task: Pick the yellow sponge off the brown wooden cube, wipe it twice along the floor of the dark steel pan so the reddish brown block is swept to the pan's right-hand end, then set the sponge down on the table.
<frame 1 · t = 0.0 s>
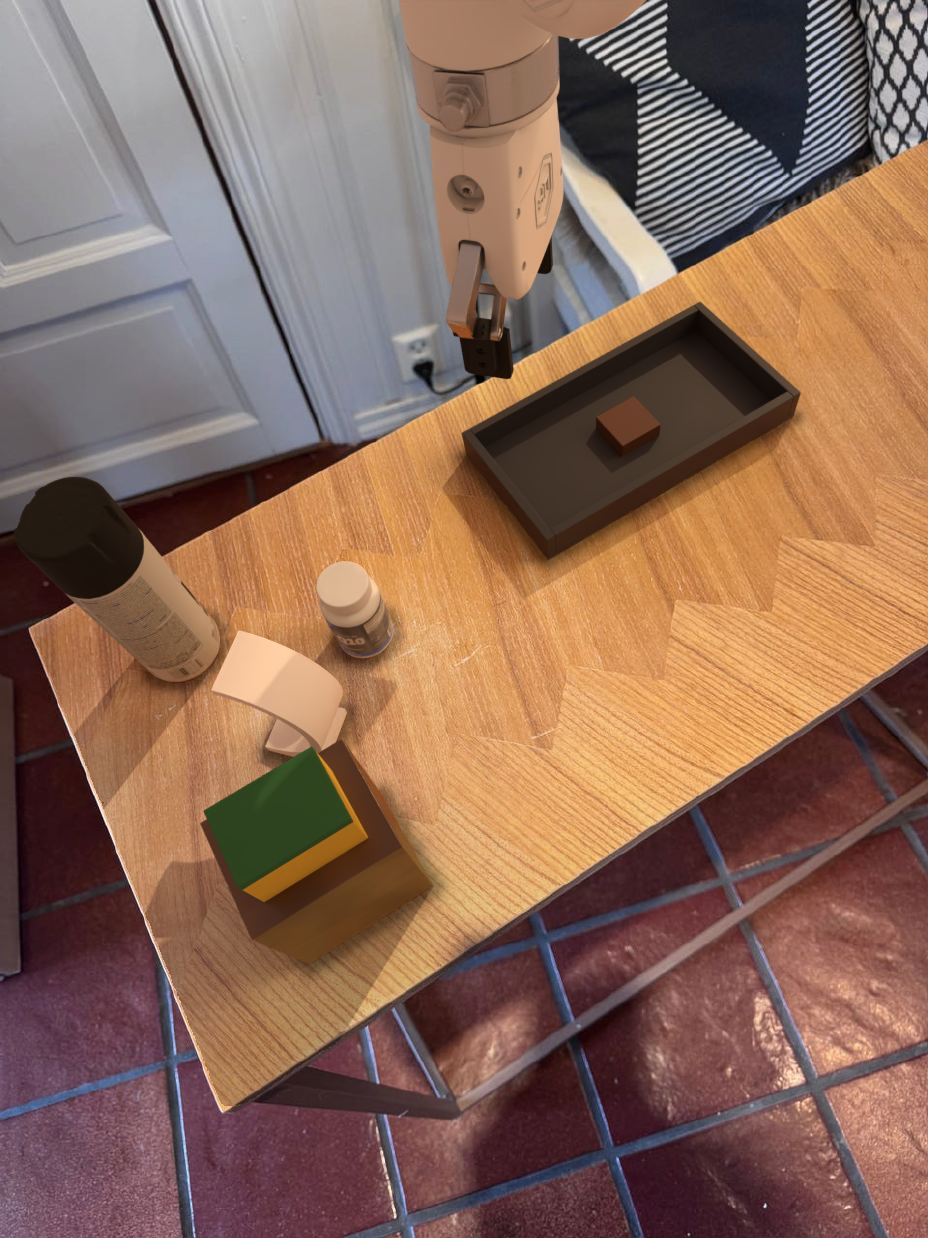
hand: (510, 319, 60), 20 cm above the table, tool pointing down, fingers open, 9 cm apart
cream curved piece: (314, 733, 69), on the table
brown wooden cube: (346, 875, 64), on the table
sponge: (298, 834, 53), point 12 cm above the table, touching brown wooden cube
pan: (627, 435, 79), on the table
reddish brown block: (627, 431, 78), point 1 cm above the table, touching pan
pill bottle: (366, 634, 73), on the table
spray can: (185, 650, 74), on the table
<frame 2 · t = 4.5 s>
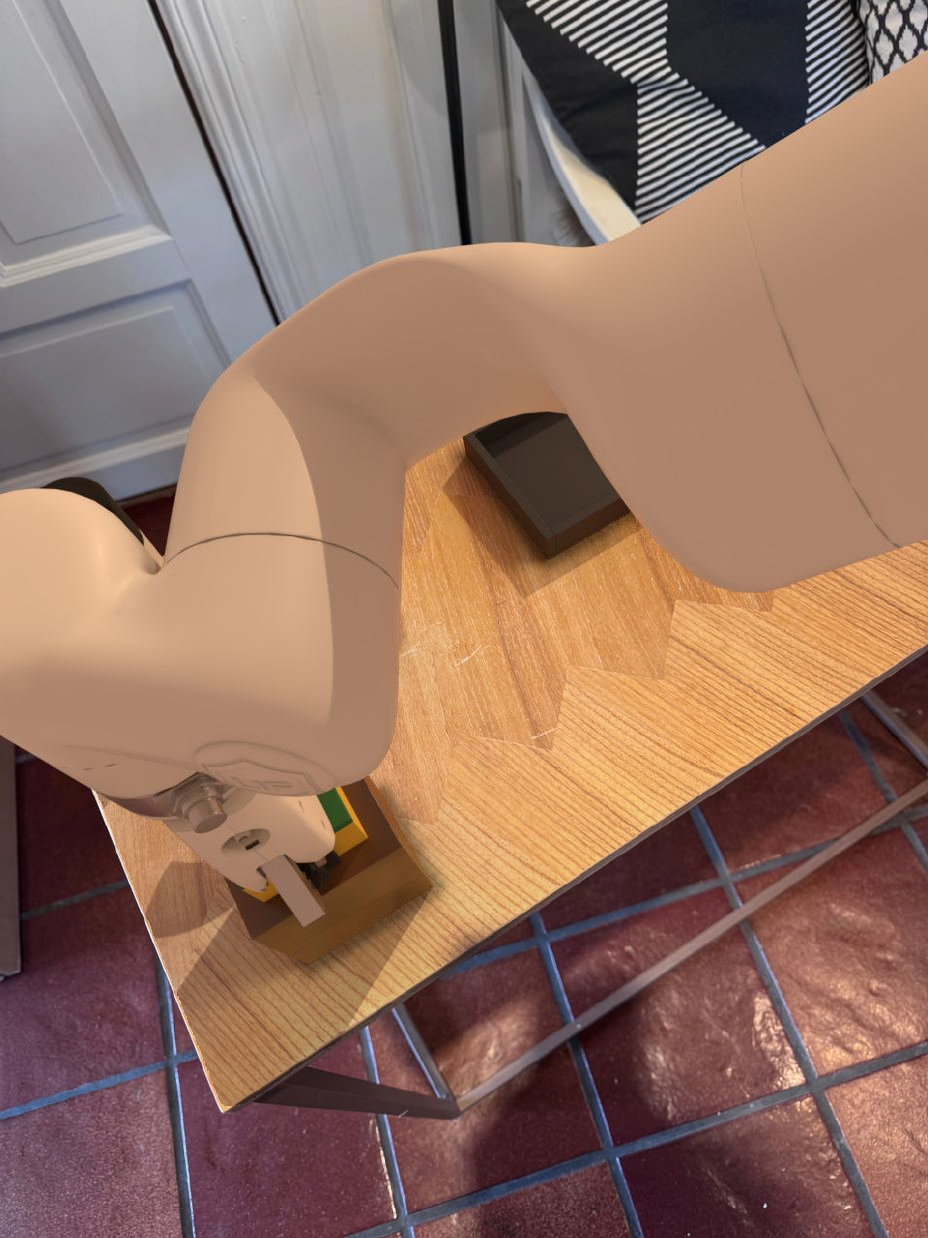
hand: (294, 831, 52), 13 cm above the table, tool pointing down, fingers closed on sponge, 5 cm apart
sponge: (298, 834, 53), point 12 cm above the table, touching gripper, brown wooden cube
everything else where it was.
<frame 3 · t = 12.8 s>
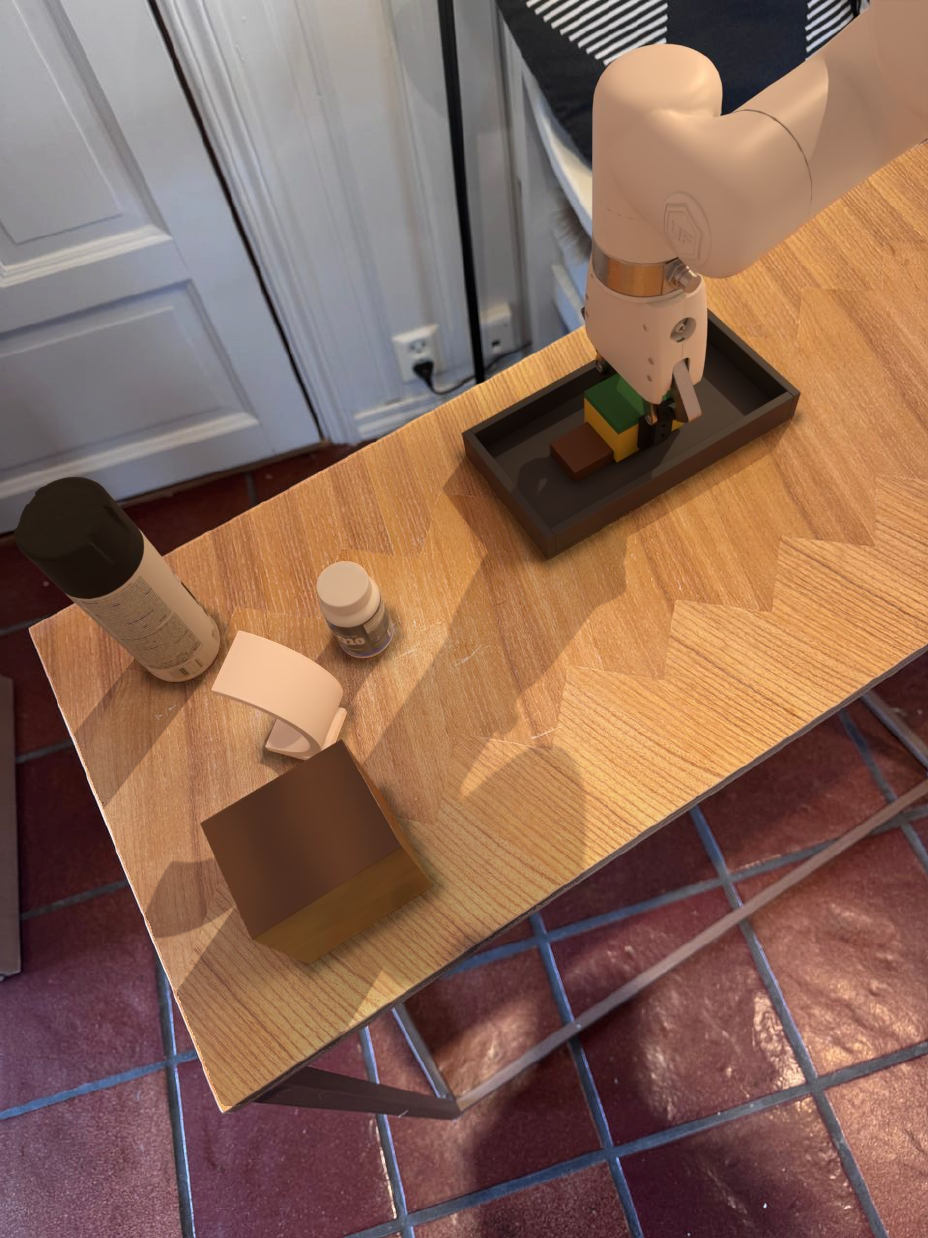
hand: (634, 419, 77), 2 cm above the table, tool pointing down, fingers closed on sponge, 5 cm apart
sponge: (633, 425, 78), point 1 cm above the table, touching gripper, reddish brown block
reddish brown block: (581, 457, 78), point 1 cm above the table, touching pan, sponge
everything else where it was.
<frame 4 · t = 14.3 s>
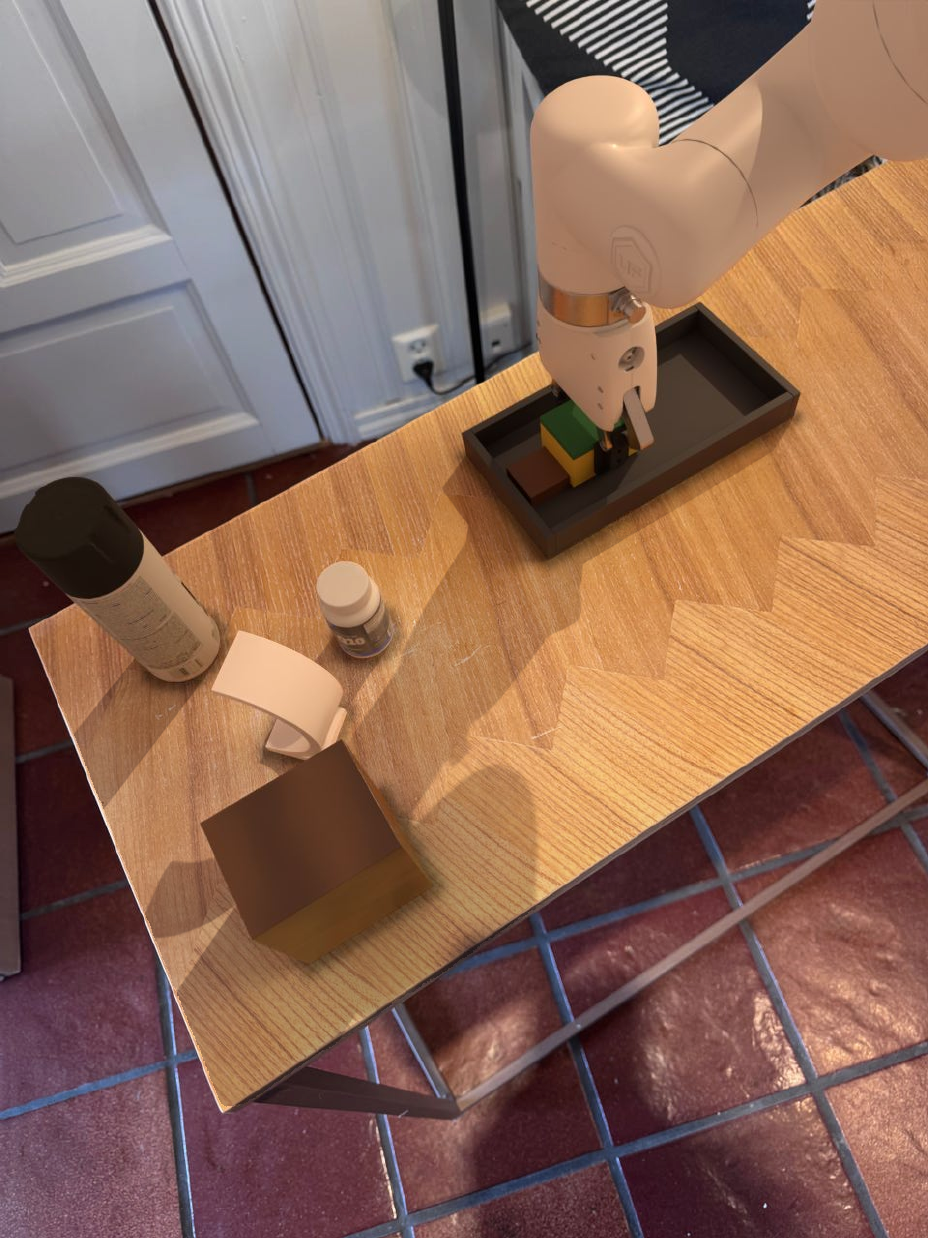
hand: (591, 443, 77), 2 cm above the table, tool pointing down, fingers closed on sponge, 5 cm apart
sponge: (591, 449, 77), point 1 cm above the table, touching gripper, reddish brown block
reddish brown block: (538, 481, 77), point 1 cm above the table, touching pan, sponge
everything else where it was.
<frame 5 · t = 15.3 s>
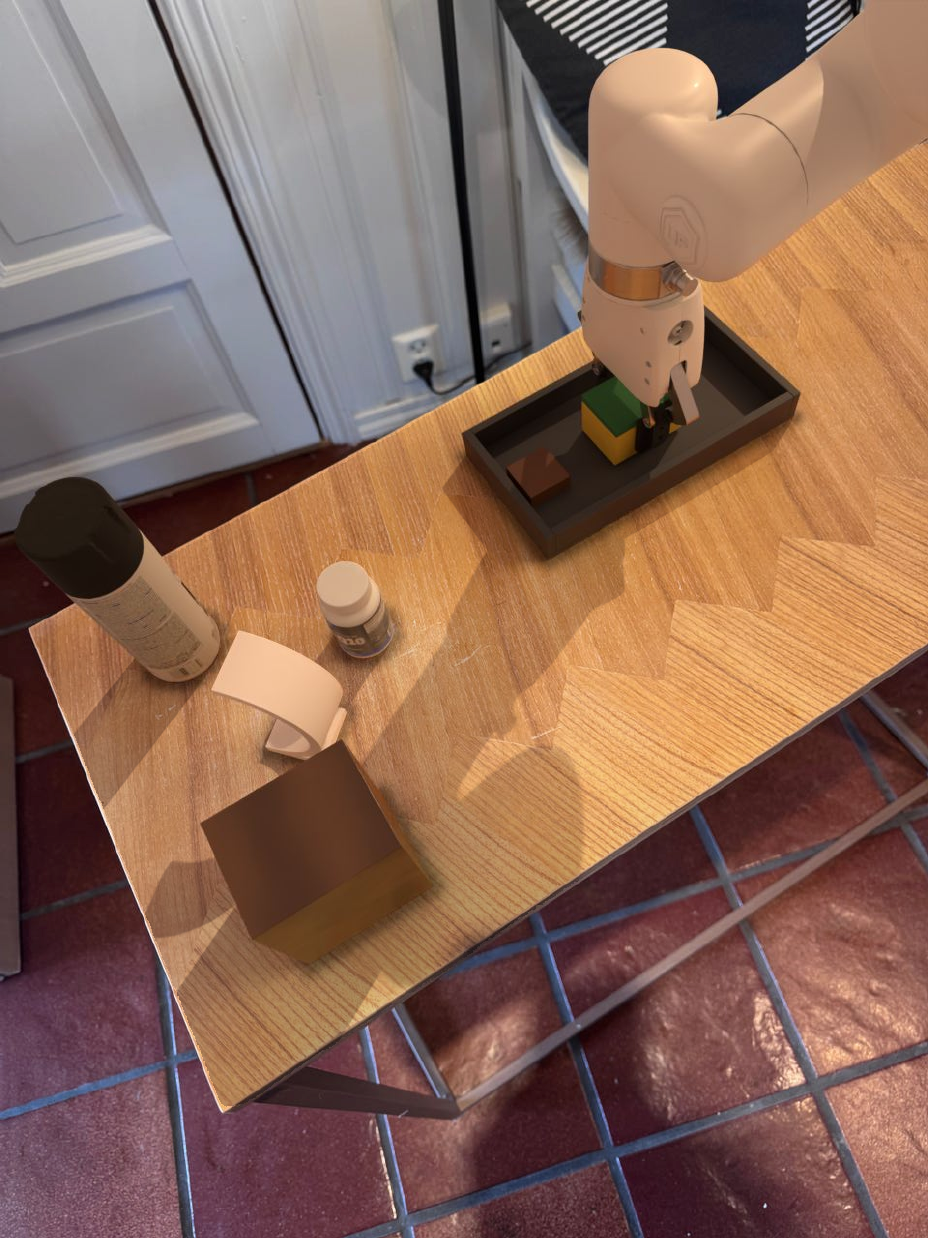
hand: (631, 421, 77), 2 cm above the table, tool pointing down, fingers closed on sponge, 5 cm apart
sponge: (630, 428, 78), point 1 cm above the table, touching gripper
reddish brown block: (538, 481, 77), point 1 cm above the table, touching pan
everything else where it was.
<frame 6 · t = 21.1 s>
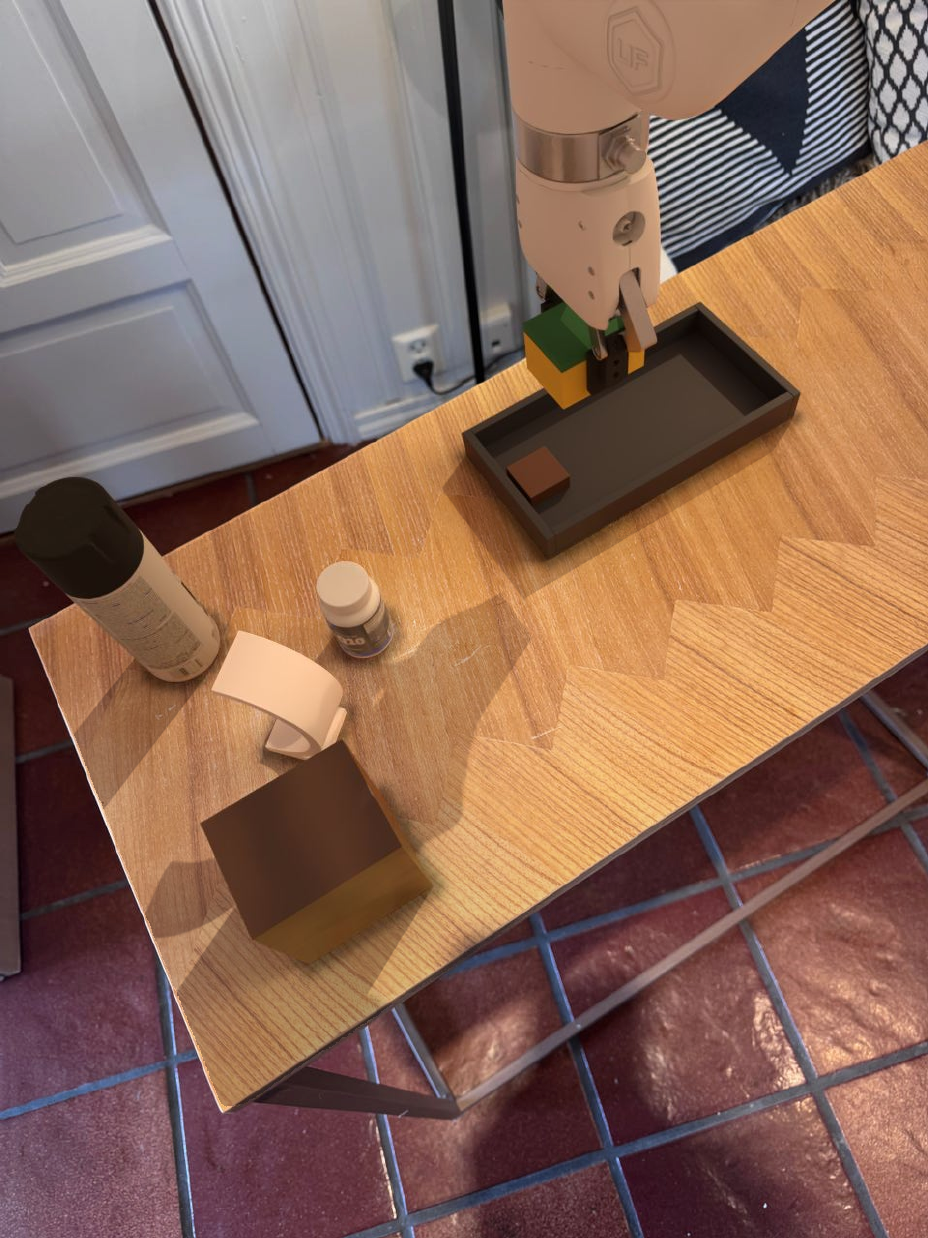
hand: (584, 358, 65), 14 cm above the table, tool pointing down, fingers closed on sponge, 5 cm apart
sponge: (584, 367, 66), point 13 cm above the table, touching gripper
everything else where it was.
when the fingers open (1 cm above the table, at t = 26.3 s): sponge stays where it is, on the table.
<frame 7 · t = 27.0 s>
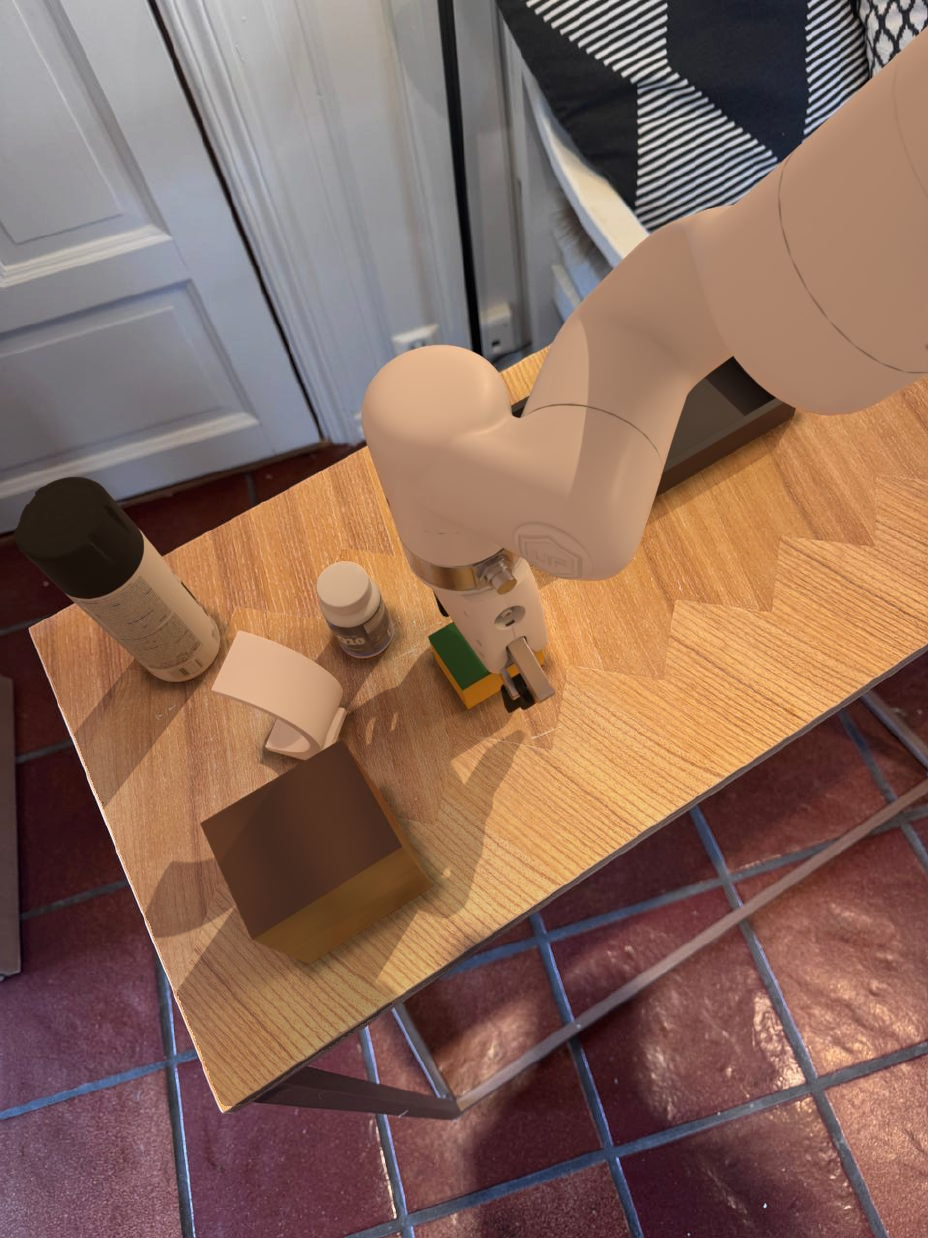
hand: (490, 651, 68), 2 cm above the table, tool pointing down, fingers open, 9 cm apart
sponge: (489, 662, 70), on the table
everything else where it was.
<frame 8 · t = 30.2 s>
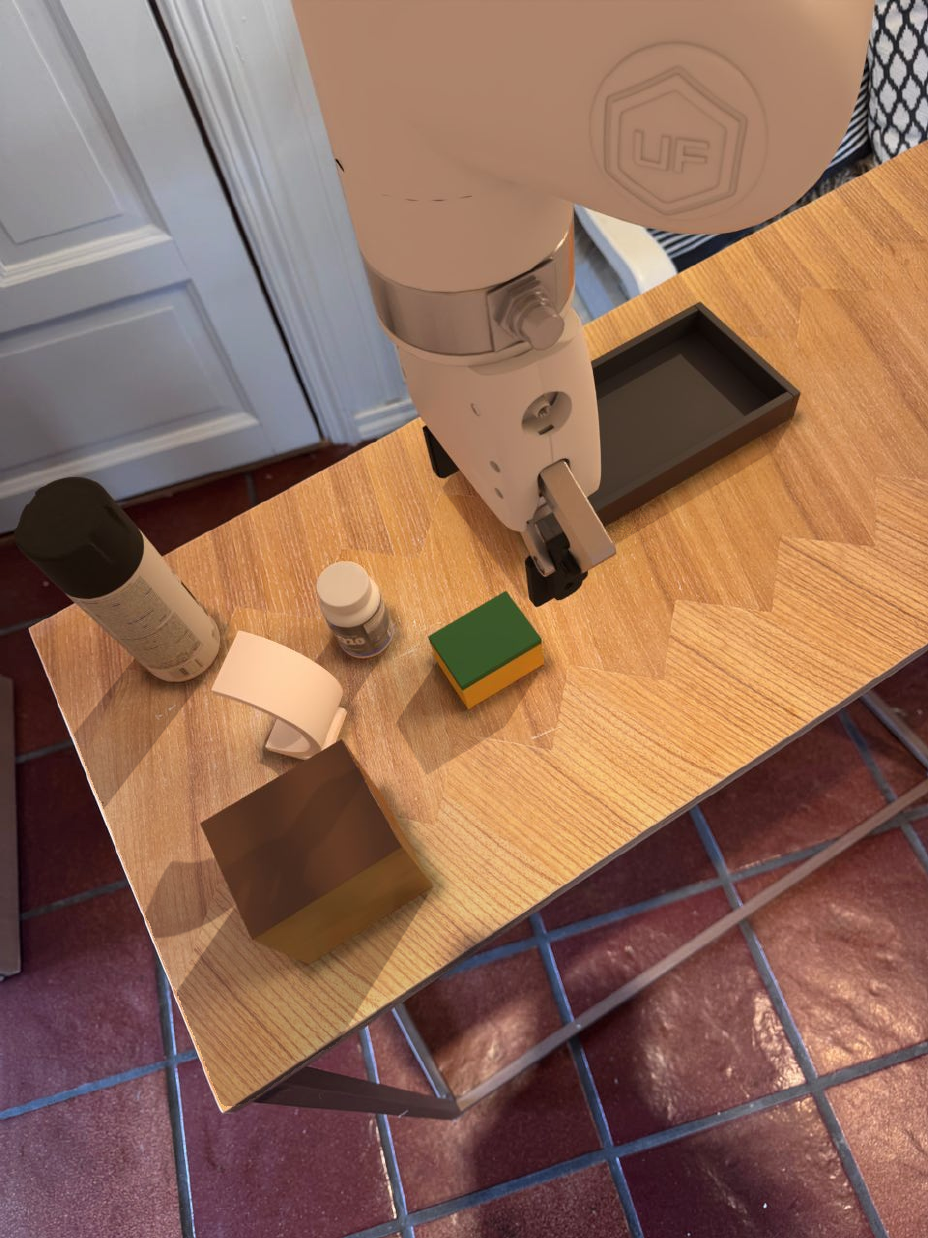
hand: (507, 523, 47), 24 cm above the table, tool pointing down, fingers open, 9 cm apart
nothing on the table moved.
at the end: reddish brown block inside the target area in the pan (0.2 cm from its centre), point 0.6 cm above the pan's base; the gripper is holding nothing; sponge inside the target area (0.2 cm from its centre), on the table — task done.
